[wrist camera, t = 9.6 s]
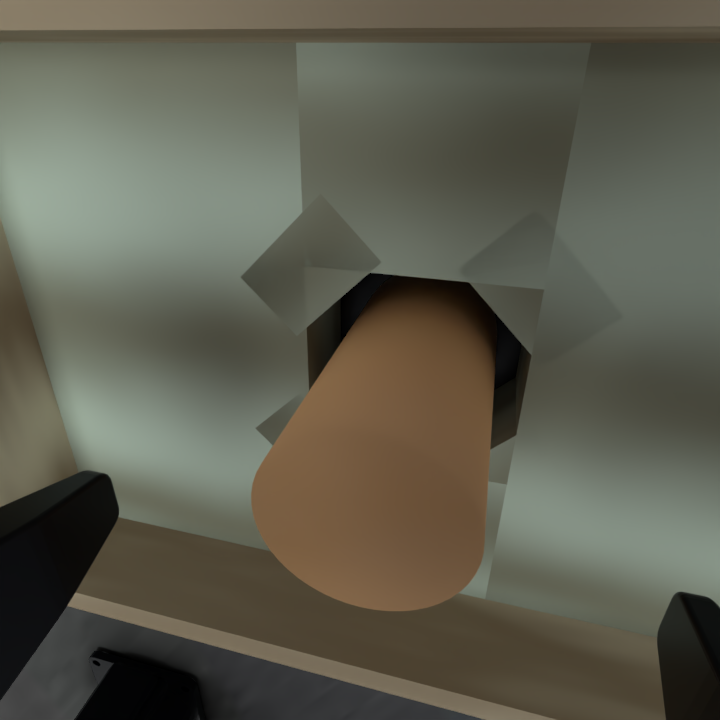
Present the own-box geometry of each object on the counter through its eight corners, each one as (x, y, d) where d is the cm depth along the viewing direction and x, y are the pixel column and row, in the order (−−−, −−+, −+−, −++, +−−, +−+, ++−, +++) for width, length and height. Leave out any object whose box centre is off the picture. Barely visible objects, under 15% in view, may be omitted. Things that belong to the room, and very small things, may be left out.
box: (782, 603, 17) (900, 832, 12) (127, 471, 22) (10, 590, 17) (1140, 0, 9) (1930, -102, 4) (14, 15, 14) (-265, -22, 9)
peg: (487, 399, 16) (469, 633, 9) (362, 381, 17) (260, 583, 10) (506, 274, 14) (501, 452, 7) (363, 261, 15) (240, 410, 8)
